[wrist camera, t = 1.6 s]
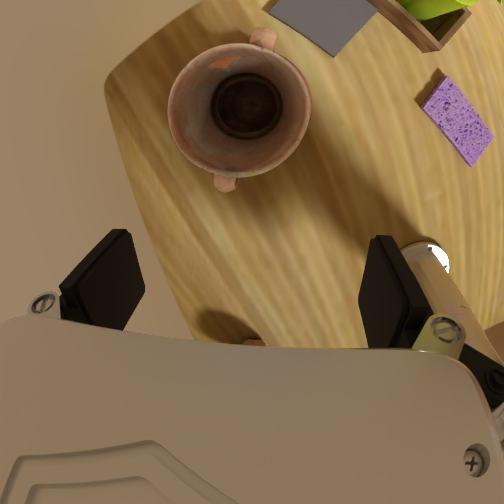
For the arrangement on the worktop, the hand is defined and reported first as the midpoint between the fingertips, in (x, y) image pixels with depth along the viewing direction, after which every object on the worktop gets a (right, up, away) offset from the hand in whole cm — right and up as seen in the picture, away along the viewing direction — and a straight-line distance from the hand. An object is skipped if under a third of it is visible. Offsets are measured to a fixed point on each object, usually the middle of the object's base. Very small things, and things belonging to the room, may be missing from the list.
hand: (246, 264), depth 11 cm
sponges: (+30, +19, +20) cm, 41 cm away
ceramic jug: (0, +19, +23) cm, 30 cm away
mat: (+9, +31, +15) cm, 35 cm away
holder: (+22, +33, +12) cm, 41 cm away
